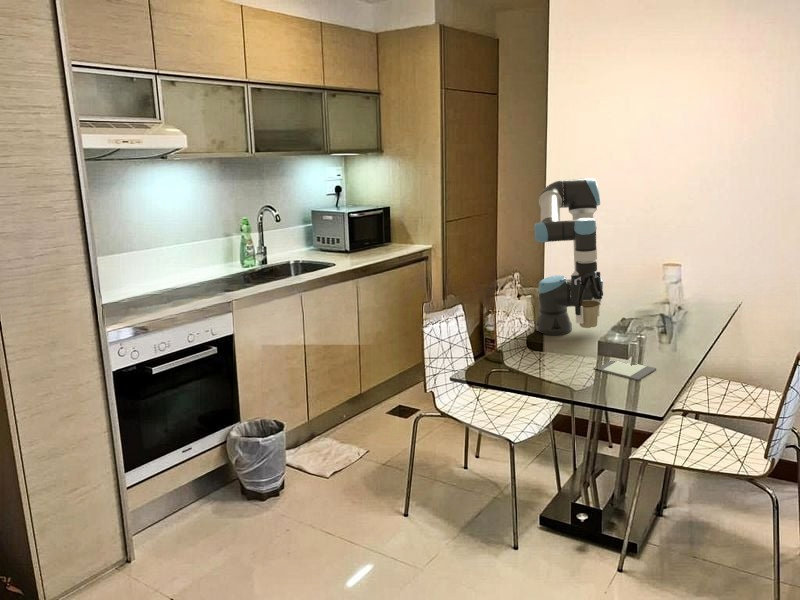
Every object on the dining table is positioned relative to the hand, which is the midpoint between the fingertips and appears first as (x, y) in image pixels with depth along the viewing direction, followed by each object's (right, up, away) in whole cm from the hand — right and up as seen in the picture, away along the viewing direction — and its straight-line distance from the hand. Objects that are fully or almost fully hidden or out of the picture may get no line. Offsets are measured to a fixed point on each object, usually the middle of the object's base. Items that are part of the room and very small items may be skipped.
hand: (587, 319), depth 248 cm
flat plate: (+12, -18, -6) cm, 22 cm away
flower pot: (0, -3, +1) cm, 3 cm away
